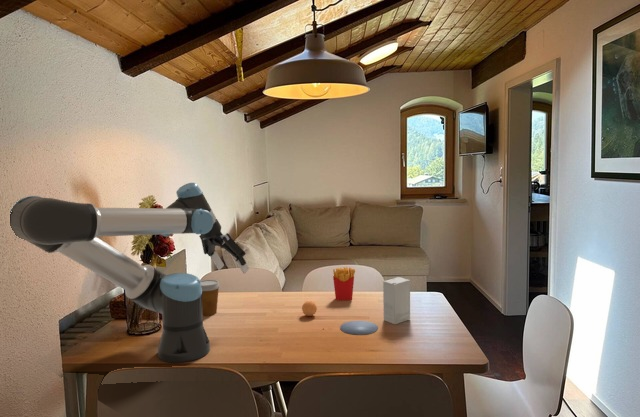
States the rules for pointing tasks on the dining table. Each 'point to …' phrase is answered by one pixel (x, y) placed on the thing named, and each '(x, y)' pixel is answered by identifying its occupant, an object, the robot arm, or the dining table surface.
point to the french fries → (343, 283)
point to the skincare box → (396, 300)
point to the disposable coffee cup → (209, 296)
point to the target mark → (359, 327)
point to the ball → (309, 308)
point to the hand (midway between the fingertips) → (233, 269)
